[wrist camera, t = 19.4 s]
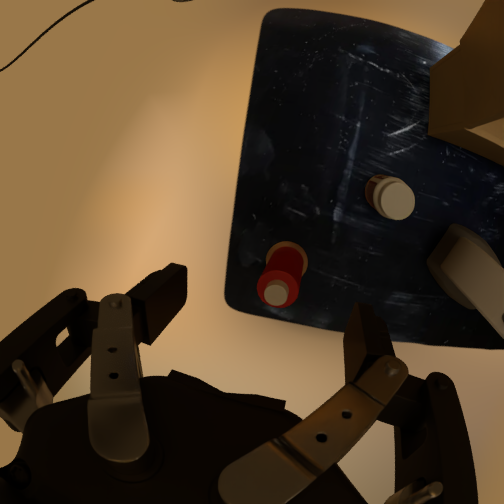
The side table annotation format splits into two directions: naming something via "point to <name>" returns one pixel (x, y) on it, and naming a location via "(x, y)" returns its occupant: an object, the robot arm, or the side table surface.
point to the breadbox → (459, 112)
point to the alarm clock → (470, 273)
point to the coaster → (293, 245)
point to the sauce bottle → (281, 277)
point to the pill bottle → (390, 196)
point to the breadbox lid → (484, 66)
